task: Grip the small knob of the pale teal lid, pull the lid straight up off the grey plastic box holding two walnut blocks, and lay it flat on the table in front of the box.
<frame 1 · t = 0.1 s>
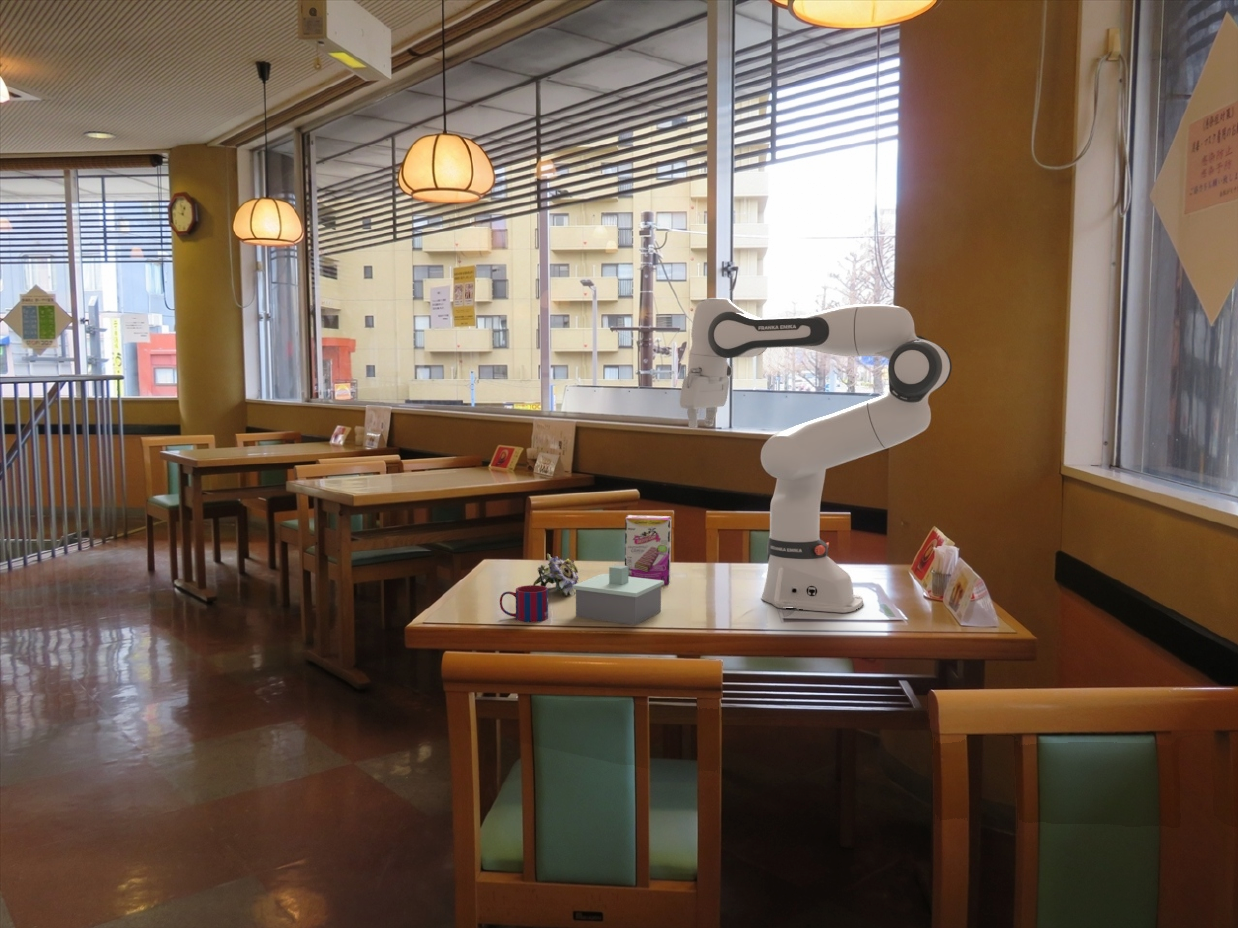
hand: (700, 426, 223), 39 cm above the table, tool pointing down, fingers open, 8 cm apart
mug: (524, 621, 198), on the table
block a: (631, 615, 200), point 1 cm above the table, touching box
candy bar box: (647, 583, 233), on the table
passion flower: (555, 596, 220), on the table
box: (618, 616, 201), on the table
block b: (606, 612, 202), point 1 cm above the table, touching box
lid: (618, 586, 200), point 6 cm above the table, touching box
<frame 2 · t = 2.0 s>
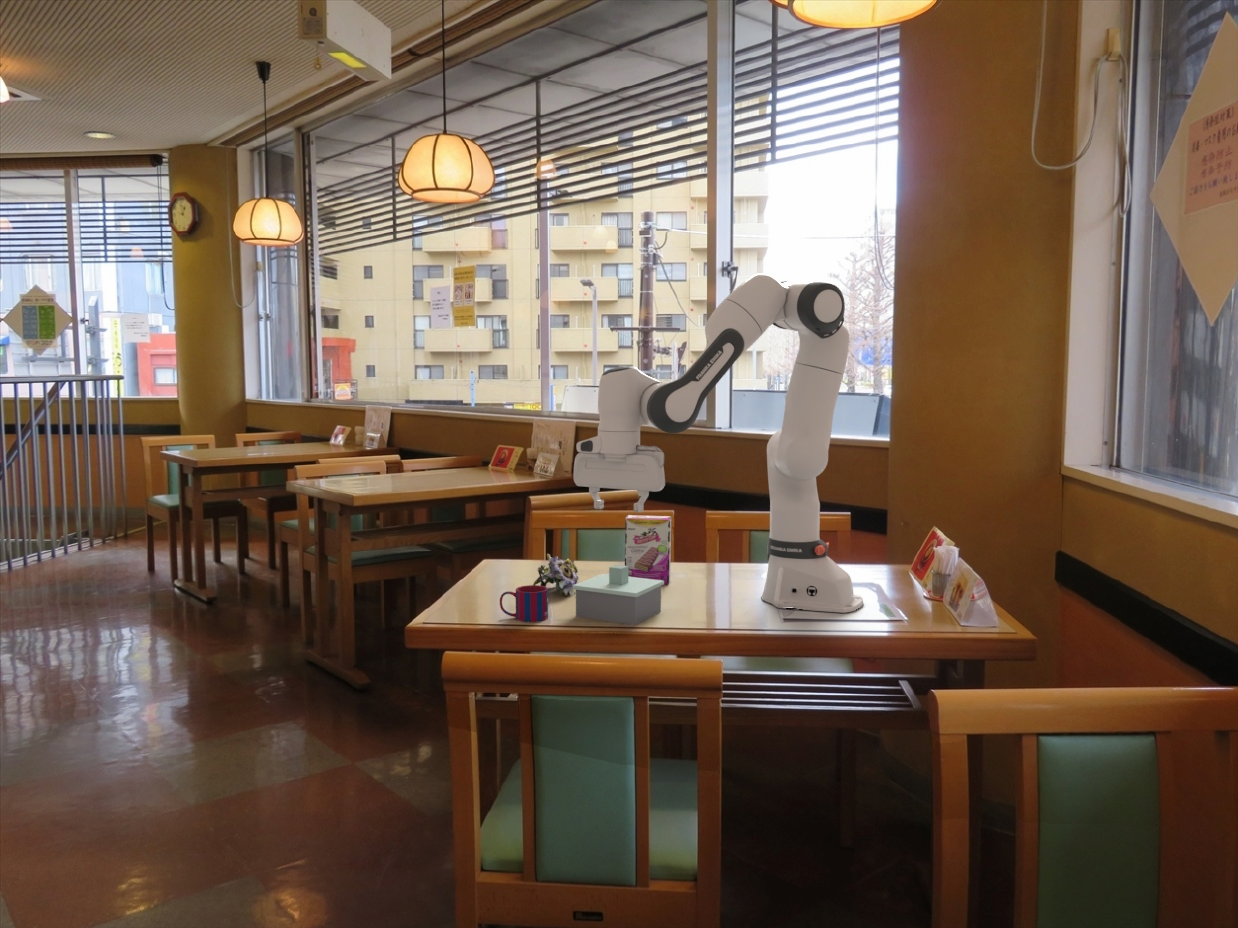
hand: (618, 510, 199), 23 cm above the table, tool pointing down, fingers open, 8 cm apart
nothing on the table moved.
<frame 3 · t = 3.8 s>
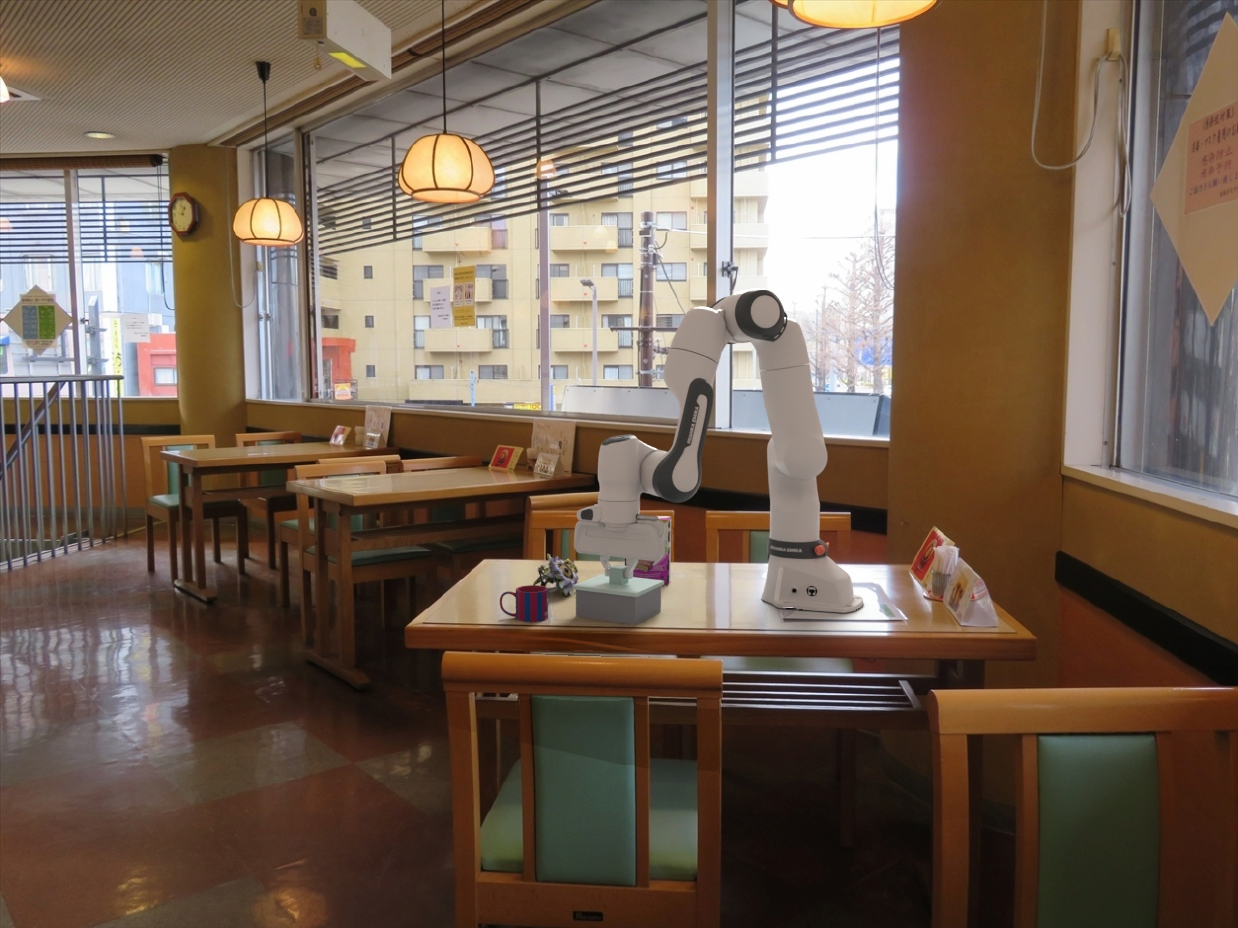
hand: (618, 577, 200), 8 cm above the table, tool pointing down, fingers closed on lid, 3 cm apart
lid: (618, 586, 200), point 6 cm above the table, touching box, gripper
everything else where it was.
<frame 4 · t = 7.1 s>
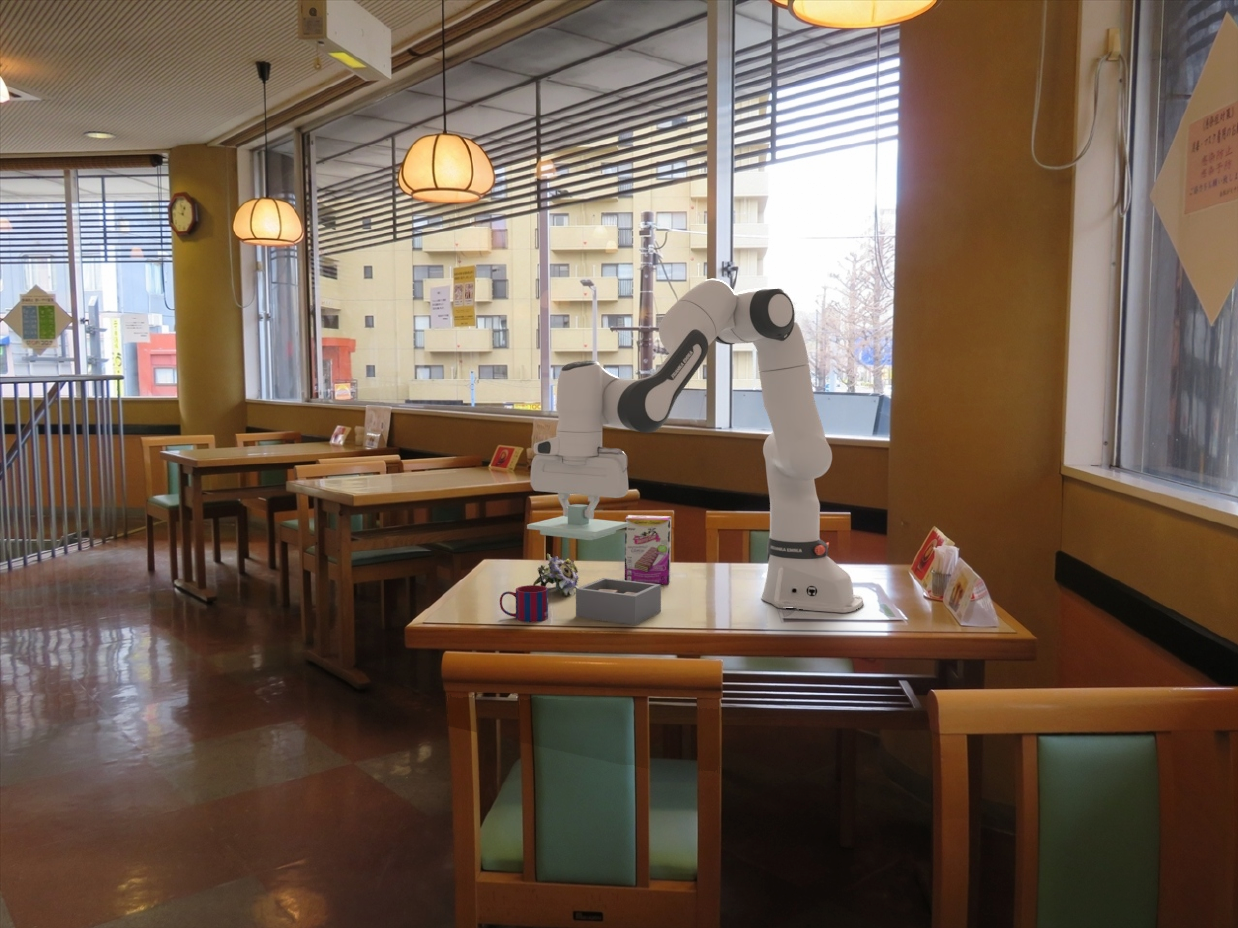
hand: (578, 517, 183), 24 cm above the table, tool pointing down, fingers closed on lid, 3 cm apart
lid: (578, 527, 183), point 22 cm above the table, touching gripper
everything else where it was.
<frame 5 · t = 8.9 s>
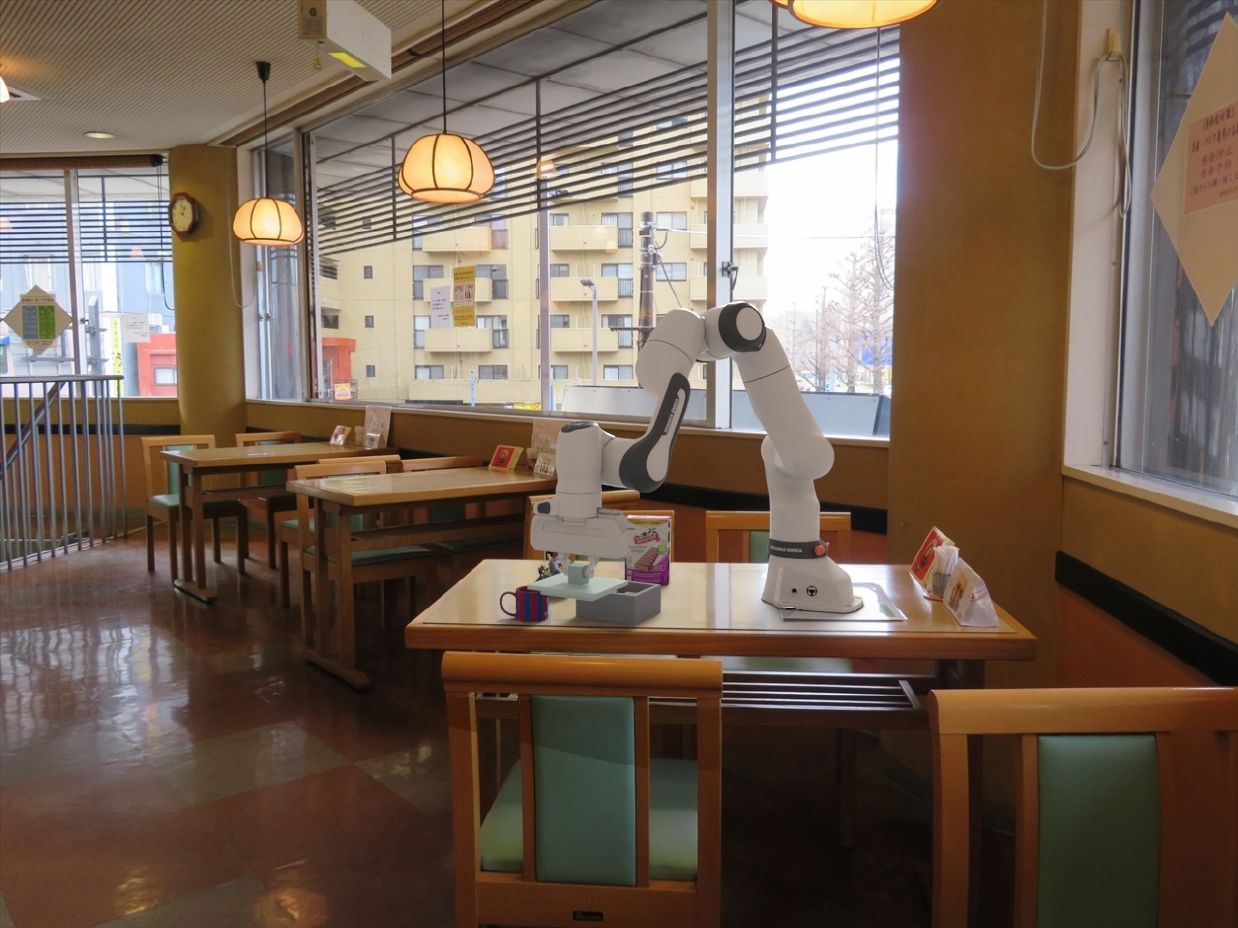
hand: (578, 576, 184), 12 cm above the table, tool pointing down, fingers closed on lid, 3 cm apart
lid: (578, 586, 184), point 10 cm above the table, touching gripper
everything else where it was.
when the fingers open (5 cm above the table, at t = 10.4 s): lid drops 2 cm, point 1 cm above the table.
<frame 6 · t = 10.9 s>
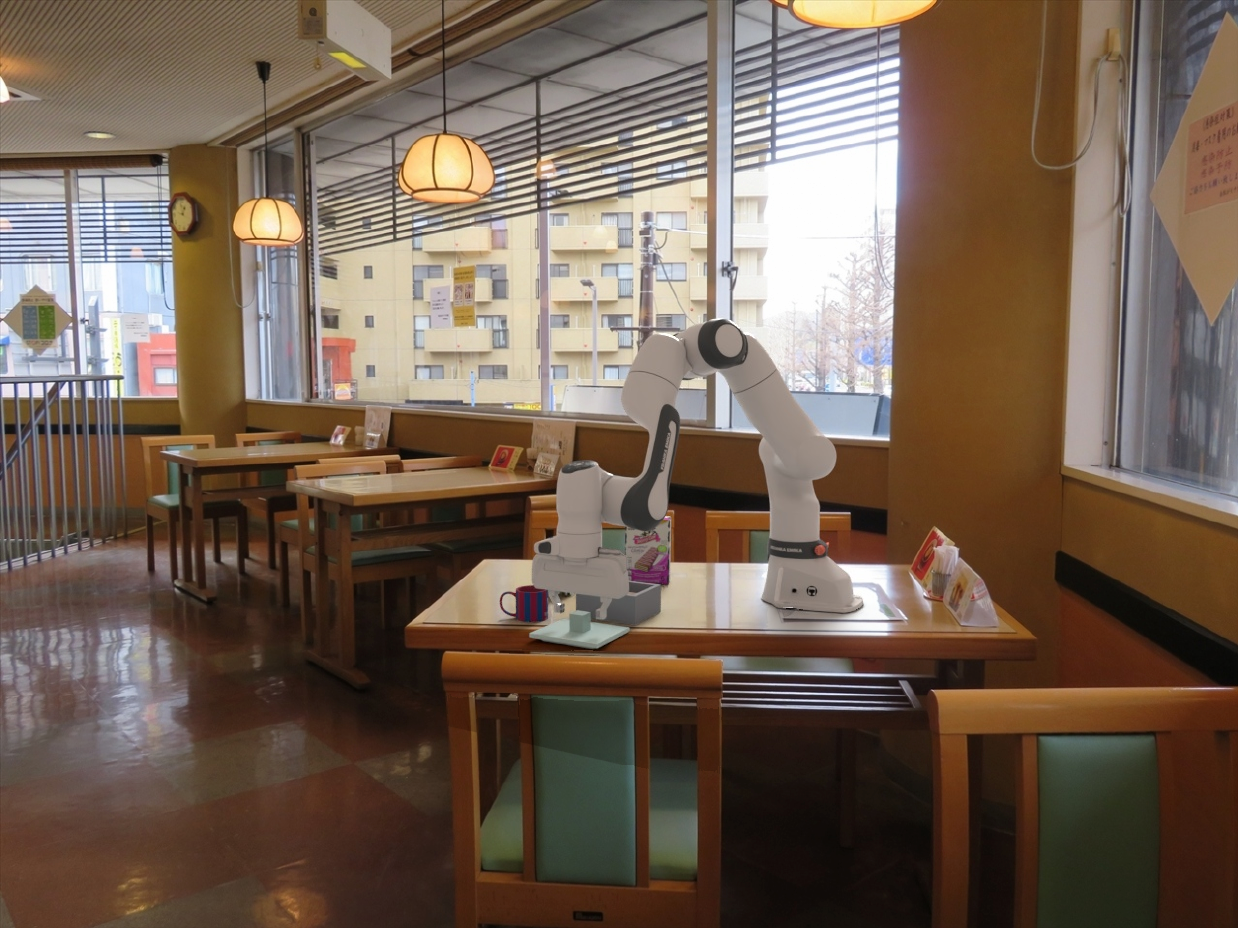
hand: (579, 615, 184), 5 cm above the table, tool pointing down, fingers open, 8 cm apart
lid: (580, 634, 185), point 1 cm above the table
everything else where it was.
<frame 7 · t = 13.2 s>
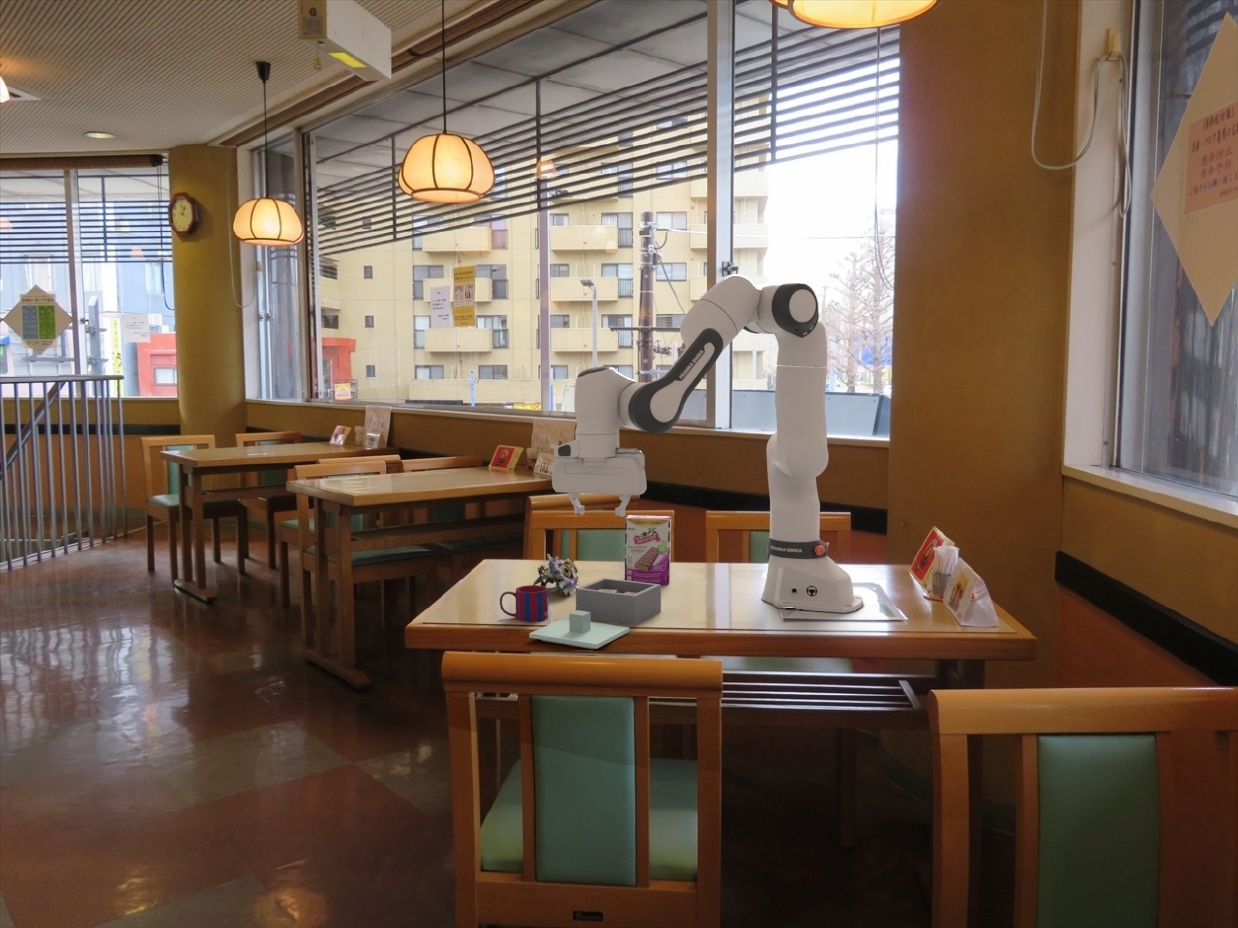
hand: (599, 515, 192), 23 cm above the table, tool pointing down, fingers open, 8 cm apart
nothing on the table moved.
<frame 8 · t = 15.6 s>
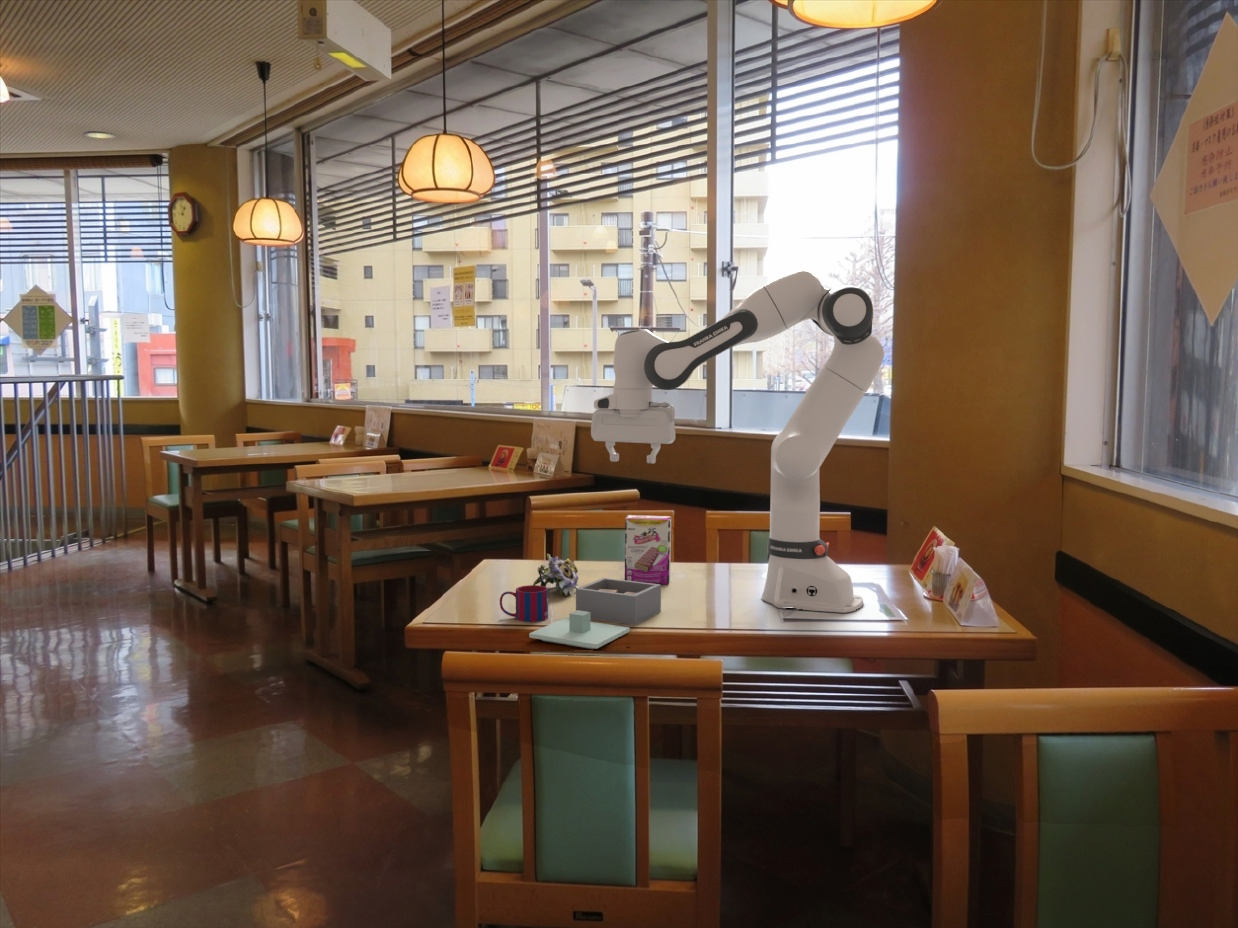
hand: (632, 462, 217), 31 cm above the table, tool pointing down, fingers open, 8 cm apart
nothing on the table moved.
at the end: lid inside the target area (0.0 cm from its centre), point 0.8 cm above the table; lid touching table; lid tilted 0° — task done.
